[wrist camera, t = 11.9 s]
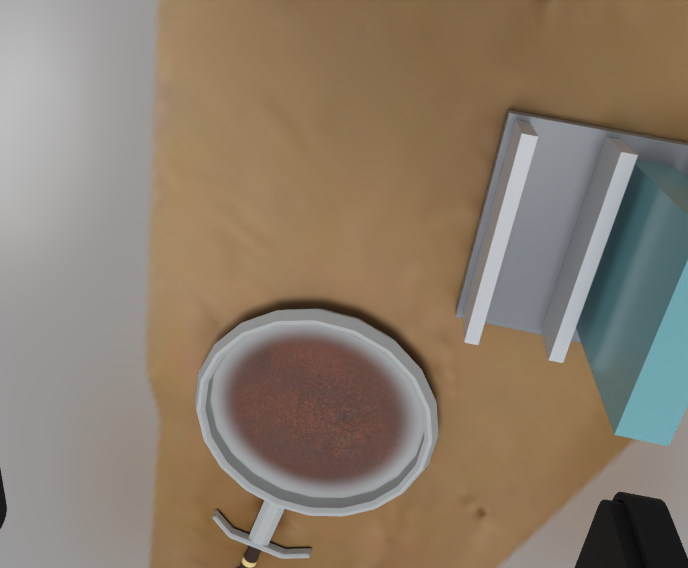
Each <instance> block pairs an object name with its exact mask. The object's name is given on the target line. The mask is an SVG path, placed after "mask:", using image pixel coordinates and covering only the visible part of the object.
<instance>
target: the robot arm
mask: <svg viewBox="0 0 688 568" xmlns="http://www.w3.org/2000/svg"><path fill="white" fill-rule="evenodd" d="M6 511H7V505H6V500H5V493H4V488H3V481H2V476H1V470H0V528H1V527H2V525H3V523H4V520H5V517H6ZM575 568H688V558H687V556H686V553H685V551H684V548H683V546H682V543H681V540H680V538H679V535H678V533H677V530H676V528H675V525H674V523H673V520H672V518H671V515H670V513H669V510H668V508H667V506H666V504H665V503H664V502H663V501H662V500H661V499H656V498H651V497H645V496H640V495H635V494H630V493H624V492H618V493H617V494H616V495H615V496H614V498H613V500H612V501H610V500H602V501H601V502H600V504H599V506H598V508H597V511H596V514H595V516H594V519H593V521H592V524H591V527H590V529H589V532H588V535H587V537H586V540H585V542H584V545H583V547H582V550H581V553H580V555H579V558H578V560H577V563H576V566H575Z"/></svg>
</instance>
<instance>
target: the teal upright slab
mask: <svg viewBox="0 0 688 568" xmlns="http://www.w3.org/2000/svg"><path fill="white" fill-rule="evenodd" d="M576 329H577V332H578V335H579V338H580V340H581V343H582V346H583V349H584V351H585V354H586V357H587V360H588V363H589V365H590V368H591V371H592V374H593V377H594V379H595V382H596V385H597V388H598V390H599V393H600V396H601V399H602V402H603V404H604V407H605V410H606V413H607V415H608V418H609V421H610V424H611V427H612V429H613V432H614V435H618V436H623V437H628V438H633V439H637V440H642V441H647V442H652V443H657V444H661V445H666V446H669V444H670V442H671V440H672V438H673V436H674V433H675V431H676V429H677V427H678V425H679V423H680V420H681V419H682V417H683V414H684V412H685V410H686V408H687V406H688V177H687V176H686V175H685V174H683V173H682V172H681V171H680V170H679V169H677V168H676V167H674V166H668V165H663V164H657V163H652V162H646V161H641V160H636V162H635V165H634V168H633V170H632V173H631V176H630V179H629V181H628V184H627V187H626V190H625V193H624V195H623V198H622V201H621V204H620V206H619V209H618V212H617V215H616V217H615V220H614V223H613V226H612V229H611V231H610V234H609V237H608V240H607V242H606V245H605V248H604V251H603V253H602V256H601V259H600V262H599V265H598V267H597V270H596V273H595V276H594V278H593V281H592V284H591V287H590V289H589V292H588V295H587V298H586V301H585V303H584V306H583V309H582V312H581V314H580V317H579V320H578V323H577V326H576Z"/></svg>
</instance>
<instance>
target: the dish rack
mask: <svg viewBox="0 0 688 568" xmlns="http://www.w3.org/2000/svg"><path fill="white" fill-rule="evenodd" d="M636 160H641V161H646V162H652V163H657V164H663V165H668V166H674V167H676V168H677V169H679V170H680V171H681V172H682V173H683V174H685V175H686V176H687V177H688V143H687V142H682V141H676V140H671V139H665V138H660V137H654V136H649V135H644V134H638V133H633V132H627V131H622V130H616V129H611V128H606V127H600V126H595V125H589V124H584V123H578V122H573V121H567V120H562V119H557V118H551V117H546V116H540V115H535V114H529V113H524V112H519V111H513V110H508V112H507V115H506V119H505V123H504V127H503V131H502V135H501V138H500V142H499V146H498V150H497V154H496V157H495V161H494V165H493V169H492V173H491V177H490V180H489V184H488V188H487V192H486V196H485V199H484V203H483V207H482V211H481V215H480V218H479V222H478V226H477V230H476V234H475V238H474V241H473V245H472V249H471V253H470V257H469V260H468V264H467V268H466V272H465V276H464V280H463V283H462V287H461V291H460V295H459V299H458V302H457V306H456V317H458V318H463V322H464V342H465V343H469V344H474V345H478V344H479V341H480V337H481V334H482V330H483V327H484V323H487V324H492V325H497V326H502V327H506V328H511V329H516V330H521V331H526V332H531V333H535V334H540V335H542V336H543V340H544V344H545V348H546V352H547V356H548V359H549V360H550V361H555V362H560V363H563V362H564V359H565V356H566V353H567V350H568V348H569V345H570V342H571V341H574V342H579V343H581V340H580V338H579V335H578V332H577V329H576V326H577V323H578V320H579V317H580V314H581V312H582V309H583V306H584V303H585V301H586V298H587V295H588V292H589V289H590V287H591V284H592V281H593V278H594V276H595V273H596V270H597V267H598V265H599V262H600V259H601V256H602V253H603V251H604V248H605V245H606V242H607V240H608V237H609V234H610V231H611V229H612V226H613V223H614V220H615V217H616V215H617V212H618V209H619V206H620V204H621V201H622V198H623V195H624V193H625V190H626V187H627V184H628V181H629V179H630V176H631V173H632V170H633V168H634V165H635V162H636Z"/></svg>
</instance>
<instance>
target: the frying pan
mask: <svg viewBox="0 0 688 568" xmlns="http://www.w3.org/2000/svg"><path fill="white" fill-rule="evenodd" d="M195 405H196V410H197V414H198V418H199V422H200V426H201V430H202V434H203V438H204V441H205V443H206V444H207V446H208V447H209V449H210V451H211V452H212V454H213V456H214V457H215V459H216V460H217V462H218V464H219V465H220V467H221V468H222V469H223V470H224V471H225V472H227V473H228V474H229V475H230V476H231V477H232V478H233V479H234V480H235V481H236V482H237V483H238V484H240V485H241V486H242V487H243V488H244V489H245V490H247V491H248V492H250V493H252V494H254V495H256V496H258V497H259V498H261V499H263V500H264V503H263V505H262V507H261V510H260V512H259V514H258V516H257V519H256V521H255V523H254V526H253V528H252V530H251V533H250V534H247V533H245V532H242V531H240V530H237V529H235V528H232V526H231V525H230V524H229V523H228V522H227V521H226V520H225V518H224V517H223V516H222V515H221V514H220V513H219V511H218V510H217V509H216V511H215V513H214V516H213V519H214V521H215V522H216V523H217V524H218V525H219V526H220V527H221V529H222V530H223V531H224V532H225V533H226V534H227V535H228V537H229V538H232V539H234V540H237V541H239V542H242V543H244V544H247V545H249V548H248V550H247V552H246V555H245V556H244V557H243V558H242V564H241V566H240V568H253V567H254V566H255V565H256V562H257V558H258V556H259V553H260V551H261V550H262V551H264V552H267V553H269V554H272V555H274V556H277V557H279V558H309V557H310V554H311V550H312V548H301V549H285V548H282V547H280V546H277V545H275V544H272V543H270V540H271V538H272V535H273V533H274V531H275V529H276V527H277V524H278V522H279V520H280V518H281V516H282V514H283V511H284V509H287V510H291V511H295V512H298V513H302V514H306V515H313V516H347V515H351V514H355V513H360V512H364V511H368V510H373V509H376V508H378V507H379V506H381V505H383V504H385V503H386V502H388V501H390V500H392V499H393V498H395V497H397V496H399V495H400V494H402V493H403V492H405V491H406V490H407V489H408V488H409V486H410V485H411V484H412V483H413V482H414V481H415V480H416V479H417V477H418V476H419V475H420V474H421V473H422V472H423V471H424V469H425V468H426V467H427V466H428V465H429V462H430V459H431V456H432V453H433V450H434V447H435V444H436V441H437V438H438V435H439V434H438V418H437V402H436V400H435V398H434V396H433V393H432V391H431V389H430V387H429V385H428V382H427V380H426V378H425V376H424V374H423V371H422V369H421V368H420V367H419V366H418V365H417V364H416V363H415V362H414V361H413V360H412V359H411V357H410V356H409V355H408V354H407V353H406V352H405V351H404V350H403V349H402V348H401V347H400V346H399V345H398V344H397V343H396V341H395V340H393V339H392V338H391V337H390V336H388V335H387V334H385V333H383V332H382V331H380V330H378V329H376V328H375V327H373V326H371V325H370V324H368V323H366V322H364V321H363V320H361V319H359V318H357V317H353V316H349V315H345V314H342V313H338V312H334V311H330V310H326V309H322V308H316V309H285V310H276V311H274V312H271V313H268V314H265V315H262V316H259V317H256V318H253V319H251V320H248V321H245V322H242V323H240V324H239V325H238V326H237V327H235V328H234V329H233V330H232V331H230V332H229V333H228V334H227V335H225V336H224V337H223V338H222V339H220V340H219V341H218V342H217V343H216V344H214V346H213V348H212V350H211V351H210V353H209V355H208V357H207V359H206V360H205V362H204V364H203V366H202V367H201V369H200V371H199V375H198V383H197V391H196V399H195Z"/></svg>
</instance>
